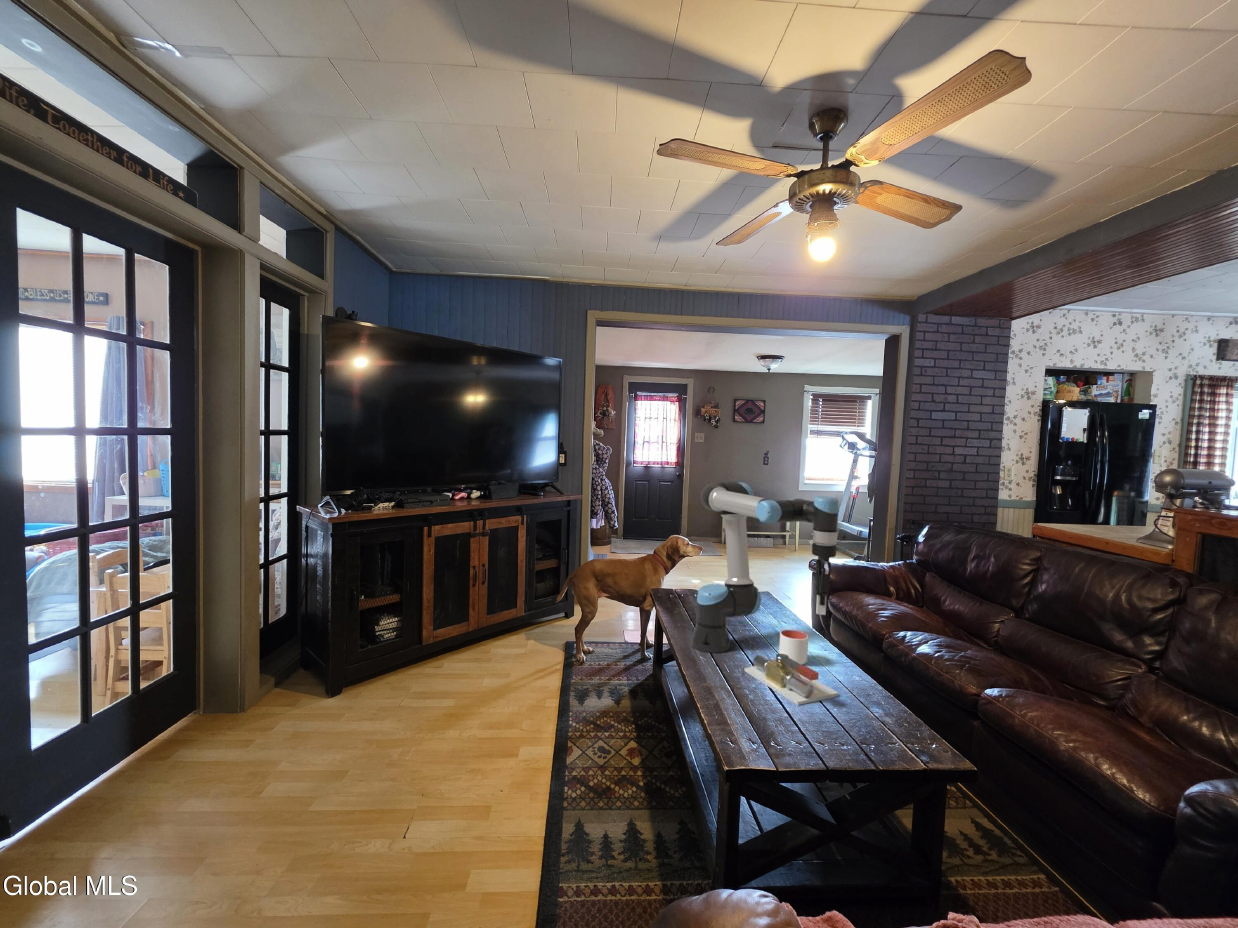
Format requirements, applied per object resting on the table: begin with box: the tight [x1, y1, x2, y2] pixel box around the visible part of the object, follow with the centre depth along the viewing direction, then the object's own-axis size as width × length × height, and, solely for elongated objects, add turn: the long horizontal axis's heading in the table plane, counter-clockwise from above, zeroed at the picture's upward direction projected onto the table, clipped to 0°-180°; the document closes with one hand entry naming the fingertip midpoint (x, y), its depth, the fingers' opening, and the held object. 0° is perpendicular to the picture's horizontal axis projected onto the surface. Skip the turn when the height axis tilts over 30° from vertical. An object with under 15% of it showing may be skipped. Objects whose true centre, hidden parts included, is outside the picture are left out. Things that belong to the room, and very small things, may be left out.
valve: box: [752, 654, 813, 698], centre depth 177 cm, size 24×7×7 cm, turn 25°
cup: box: [778, 629, 809, 665], centre depth 197 cm, size 10×10×10 cm
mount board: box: [744, 665, 839, 706], centre depth 179 cm, size 26×17×1 cm, turn 25°
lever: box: [775, 653, 820, 681], centre depth 171 cm, size 16×4×2 cm, turn 24°
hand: (820, 613), depth 176 cm, fingers closed
